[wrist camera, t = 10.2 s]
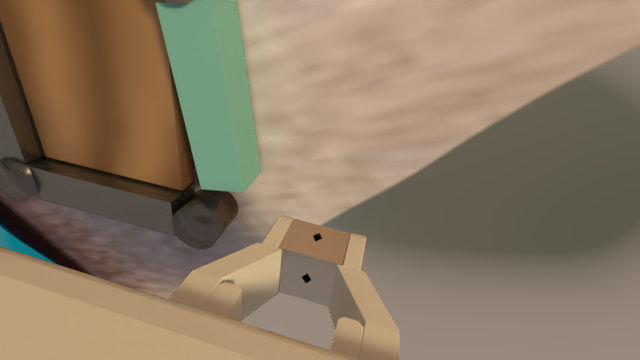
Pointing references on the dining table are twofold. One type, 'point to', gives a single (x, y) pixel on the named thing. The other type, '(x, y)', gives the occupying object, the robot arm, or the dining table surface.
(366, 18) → the dining table surface
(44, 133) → the board
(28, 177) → the dark grey square frame
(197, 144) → the teal leg
